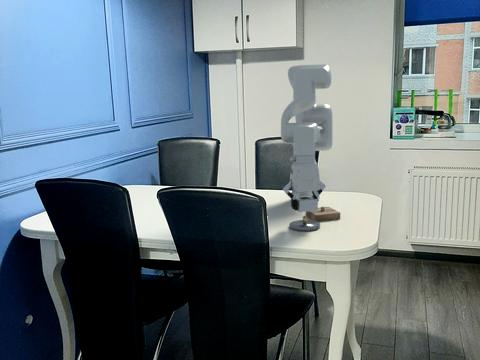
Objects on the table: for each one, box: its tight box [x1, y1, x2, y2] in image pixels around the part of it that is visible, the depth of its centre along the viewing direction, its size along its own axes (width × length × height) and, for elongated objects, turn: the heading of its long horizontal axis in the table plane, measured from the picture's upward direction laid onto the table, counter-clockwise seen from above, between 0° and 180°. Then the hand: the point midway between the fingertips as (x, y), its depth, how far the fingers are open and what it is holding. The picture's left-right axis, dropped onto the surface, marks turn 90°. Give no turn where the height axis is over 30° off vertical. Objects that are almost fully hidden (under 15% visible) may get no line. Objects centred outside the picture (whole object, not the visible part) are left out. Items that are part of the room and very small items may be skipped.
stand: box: [305, 206, 341, 222], centre depth 187 cm, size 10×10×4 cm
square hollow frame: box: [296, 195, 319, 213], centre depth 173 cm, size 7×7×4 cm
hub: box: [289, 215, 321, 232], centre depth 175 cm, size 11×11×4 cm
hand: (304, 208), depth 174 cm, fingers closed on square hollow frame, 7 cm apart
